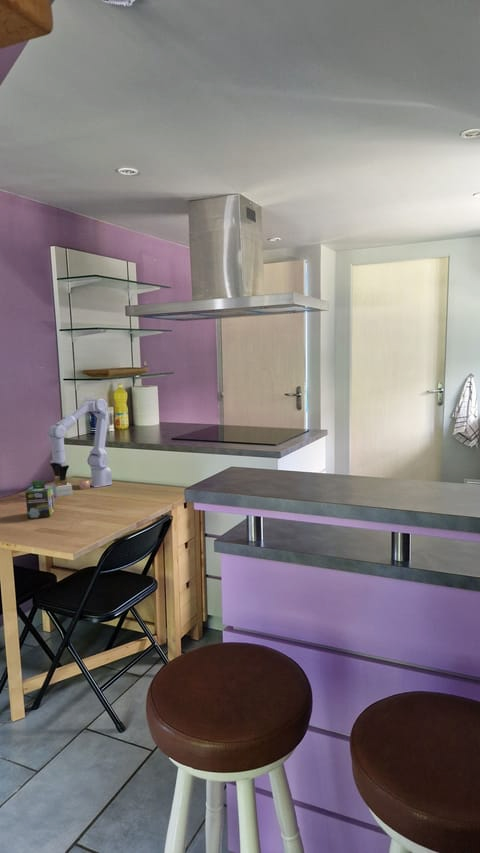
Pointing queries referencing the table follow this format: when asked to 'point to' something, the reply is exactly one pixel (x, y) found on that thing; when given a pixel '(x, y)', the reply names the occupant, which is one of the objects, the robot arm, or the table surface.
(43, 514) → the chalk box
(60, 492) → the small box
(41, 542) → the table surface
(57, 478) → the walnut block
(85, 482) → the peach capsule cylinder
